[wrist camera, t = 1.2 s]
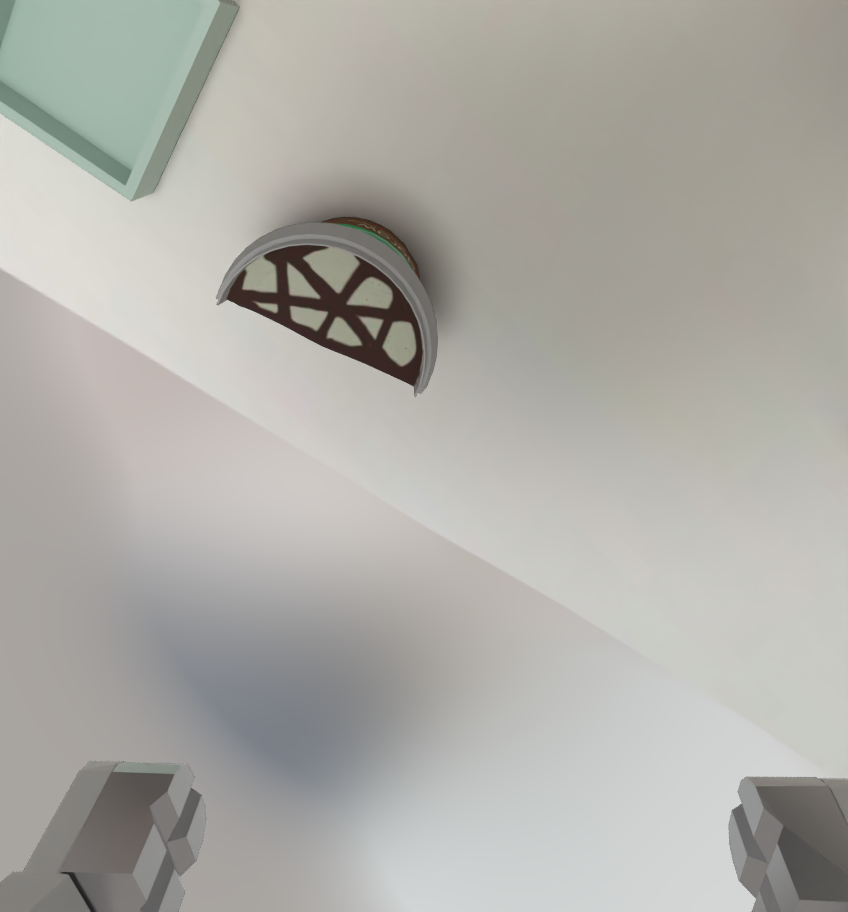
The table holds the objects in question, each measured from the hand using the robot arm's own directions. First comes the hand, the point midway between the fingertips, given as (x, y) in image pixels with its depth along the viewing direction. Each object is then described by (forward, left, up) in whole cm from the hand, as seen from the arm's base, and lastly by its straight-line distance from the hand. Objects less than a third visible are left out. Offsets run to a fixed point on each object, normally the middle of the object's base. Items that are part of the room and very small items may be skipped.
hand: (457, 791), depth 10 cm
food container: (+4, -5, -37) cm, 37 cm away
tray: (+3, -23, -36) cm, 43 cm away
